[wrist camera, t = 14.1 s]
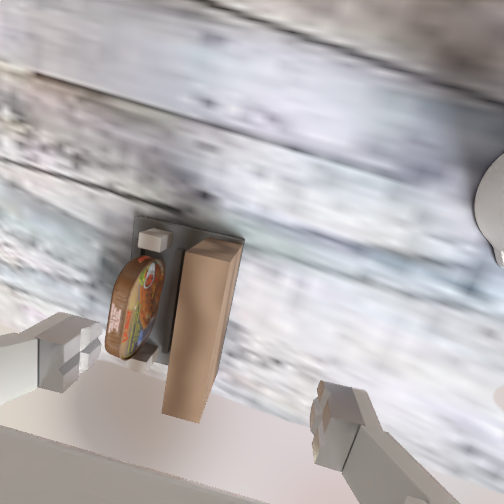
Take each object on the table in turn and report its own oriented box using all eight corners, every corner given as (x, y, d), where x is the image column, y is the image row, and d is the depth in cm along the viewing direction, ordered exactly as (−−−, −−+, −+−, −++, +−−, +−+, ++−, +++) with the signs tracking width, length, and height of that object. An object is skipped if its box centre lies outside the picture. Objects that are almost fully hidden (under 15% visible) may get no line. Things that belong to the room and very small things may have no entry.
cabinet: (244, 239, 38) (230, 257, 28) (217, 371, 44) (198, 426, 34) (140, 215, 39) (90, 225, 29) (127, 348, 45) (81, 394, 35)
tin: (151, 339, 42) (119, 375, 34) (132, 333, 42) (96, 368, 34) (170, 253, 38) (140, 270, 30) (150, 246, 38) (114, 262, 30)
